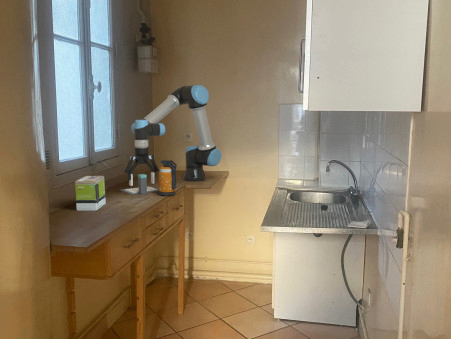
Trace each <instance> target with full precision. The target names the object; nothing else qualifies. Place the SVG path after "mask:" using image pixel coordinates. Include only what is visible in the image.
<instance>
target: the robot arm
mask: <svg viewBox="0 0 451 339" xmlns="http://www.w3.org/2000/svg"><path fill="white" fill-rule="evenodd" d="M209 95H210V94H209V91H208V90H207V88H206V87H205V86H203V85H201V84H200V85H199V84H194V85H182V86H180V87H178V88H177V89H175V90H174V91H172V92H171V93H169V95H167V97H166V99H165V100H164V101H163V102H161V104H159V105H158V106H157V107H156V108H154V109H153V110H152V111H150V113H148V114H147V115H146V116H145V117H144V118H142V119H135V121H134V122H133V123H132V125H131V126H130V127H131V128H130V130H131V132H132V134H133V135H134V147H135V148H134V156H129V160H128V162H127V165H126V166H125V169H124V173H125V174H127V180H128V181H129V182H128V184H129V186H130V187H132V186H133V183H134V181H133V177H134V176H133V174H132V173H133V172H134V171H135V169H137V167H138V166H139V165H143V164H144V165H147V167H148V168H149V170H151V172H150V184H154V185H155V178H156V173H157V172H160V168H159V167H158V165H157V162H156V161H155V159H154V155H153V154H149V137H162V136H163V135H165V133H166V126H165V125H164V123H161V122H160V121H162V120H163V119H164V118H165V117H166V116H168V115H169V114H170V113H171V112H172V111H173V110H174V109H178V108H179V107H181V106H182V105H187V106H188V109H189V110H191V112H192V116H193V121H194V126H195V130H196V135H197V138H198V139H197V140H198V143H199V145H192V146H187V147H186V148H185V170H184V173H183V178H182V179H183V181H189V182H199V181H205V180H206V173H205V170H204V166H205V167H206V166H208V167H216V166H217V165H219V163H221V159H222V152H221V150H220V149H219V148H217V146H216V144H215V142H213V138H212V133H211V129H210V124H209V119H208V114H207V110H206V107H207V105H208V102H209V98H210V96H209ZM149 160H150V161H149Z"/></svg>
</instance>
